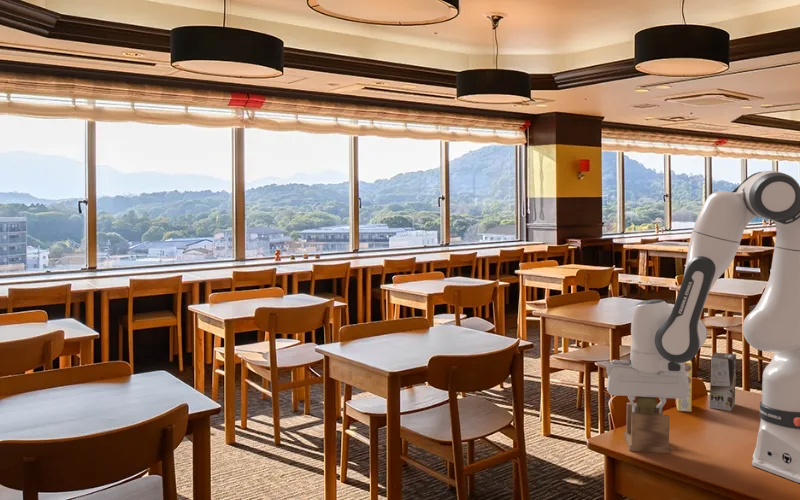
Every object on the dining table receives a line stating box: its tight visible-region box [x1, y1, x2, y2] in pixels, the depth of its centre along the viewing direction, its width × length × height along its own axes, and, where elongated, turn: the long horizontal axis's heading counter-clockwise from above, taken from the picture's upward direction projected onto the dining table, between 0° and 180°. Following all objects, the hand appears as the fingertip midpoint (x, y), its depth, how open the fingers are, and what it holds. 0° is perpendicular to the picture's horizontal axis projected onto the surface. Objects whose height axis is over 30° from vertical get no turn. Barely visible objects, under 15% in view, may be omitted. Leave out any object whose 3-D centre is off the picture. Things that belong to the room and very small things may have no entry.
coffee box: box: [709, 352, 737, 412], centre depth 210 cm, size 9×6×16 cm
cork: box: [635, 396, 658, 414], centre depth 177 cm, size 6×6×11 cm
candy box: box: [675, 359, 693, 413], centre depth 209 cm, size 9×4×15 cm, turn 162°
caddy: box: [623, 402, 672, 454], centre depth 177 cm, size 10×11×10 cm
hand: (646, 412), depth 176 cm, fingers closed on cork, 4 cm apart
